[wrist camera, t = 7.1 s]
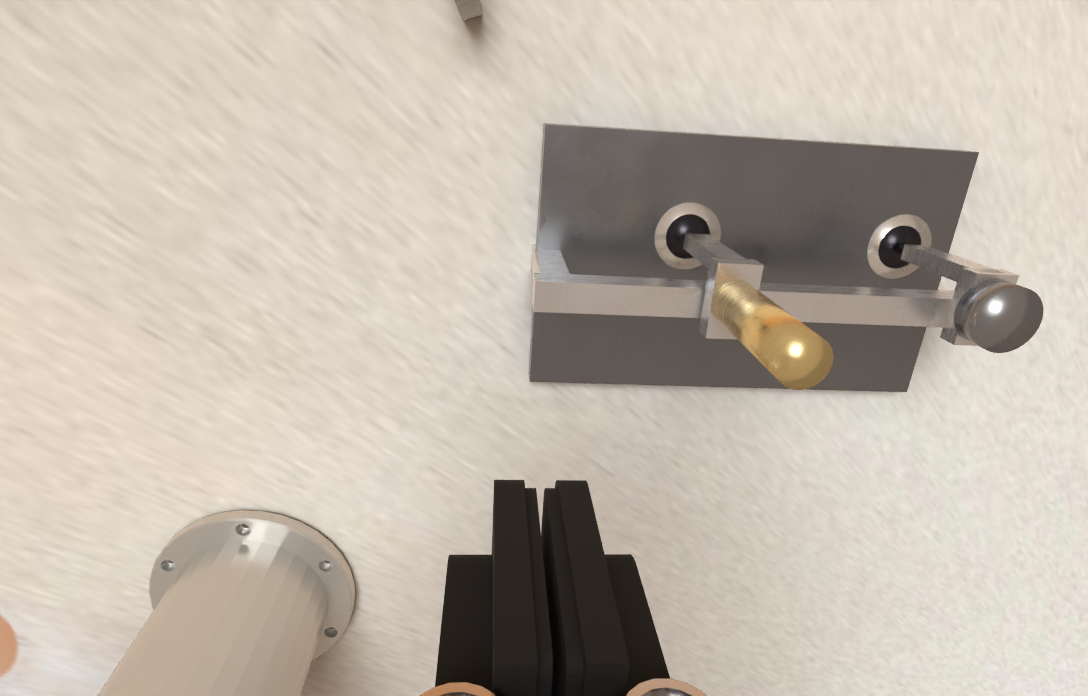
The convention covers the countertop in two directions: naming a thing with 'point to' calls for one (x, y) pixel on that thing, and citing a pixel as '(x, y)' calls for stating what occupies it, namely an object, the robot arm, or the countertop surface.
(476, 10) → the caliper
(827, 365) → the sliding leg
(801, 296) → the divider frame
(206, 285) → the countertop surface
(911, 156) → the hole plate
